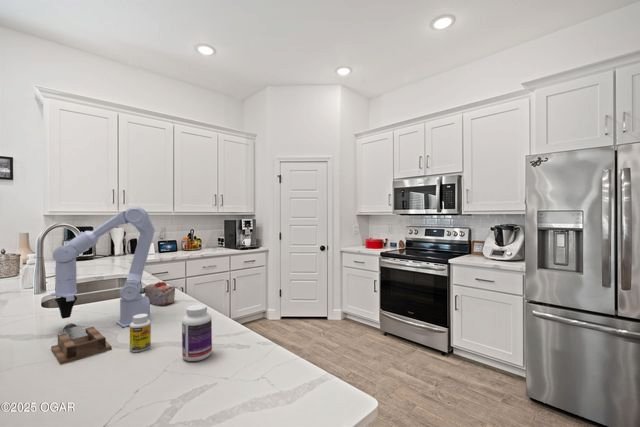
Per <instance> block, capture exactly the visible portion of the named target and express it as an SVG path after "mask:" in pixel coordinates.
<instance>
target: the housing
mask: <svg viewBox="0 0 640 427" xmlns="http://www.w3.org/2000/svg"><path fill="white" fill-rule="evenodd" d="M85 332H86V333H87V334H88V342H85V343H81V344H77V345H75V344H74V342H73V341H72V340H71V339H70V337H69V336H68V335H67V334H66V333H64V332H63V333H60V334H58V335H57V344H55V345H51V347H50V348H51V351H52V353H53V355H54V356H55V358H56V360H57V362H58V363H59V365H64V364H68V363H70V362H74V361H77V360H81V359H85V358H88V357H91V356H95V355H98V354H101V353H105V352H108V351H111V350H112V345H111V344H110V343H109V342H108V341H106V337H105V336H104V335H103V334H102V333H101V332H100V331H99V330H98V329H97V328H95V327H94V326H90V327H85Z"/></svg>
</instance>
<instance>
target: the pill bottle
mask: <svg viewBox="0 0 640 427" xmlns="http://www.w3.org/2000/svg"><path fill="white" fill-rule="evenodd" d="M185 311H186V315H184V317H183V318H182V319H181V339H182V340H181V346H182V347H181V355H182V358H183V359H184V360H185V361H187V362H198V361H202V360H205V359H206V358H208V357H210V355H212V351H213V348H212V347H213V344H212V342H213V339H212V337H213V334H212V333H213V332H212V331H213V329H212V327H213V326H212V325H213V324H212V323H213V322H212V314H210V313H209V312H207V311H208V306H207V305H206V304H193V305H190V306H188V307H186V310H185Z"/></svg>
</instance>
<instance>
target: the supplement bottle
mask: <svg viewBox="0 0 640 427" xmlns="http://www.w3.org/2000/svg"><path fill="white" fill-rule="evenodd" d="M151 323H152V322H151V320H148V314H138V315H135V316H133V322H132V323H131V324H130V326H129V350H130V351H131V352H133V353H139V352H140V353H141V352H144V351H146V350H148V349H150V347H151V343H152V340H151V336H152V334H151V333H152V332H151V328H152V326H151V325H152V324H151Z"/></svg>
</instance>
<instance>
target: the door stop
mask: <svg viewBox="0 0 640 427" xmlns="http://www.w3.org/2000/svg"><path fill="white" fill-rule="evenodd" d="M62 332H63V334H64V333H66V334H67V335H68V336H69V337H70V339H71V340H72V341H73V342H74V344H75V345H77V344H81V343H85V342H88V334H87V333H86V330H85V329H83V328H82V327H81V326H80V325H78V326H77V325H76V324H75V323H73V322H71V323H68V324H66V325H65V326H63V327H62Z"/></svg>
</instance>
